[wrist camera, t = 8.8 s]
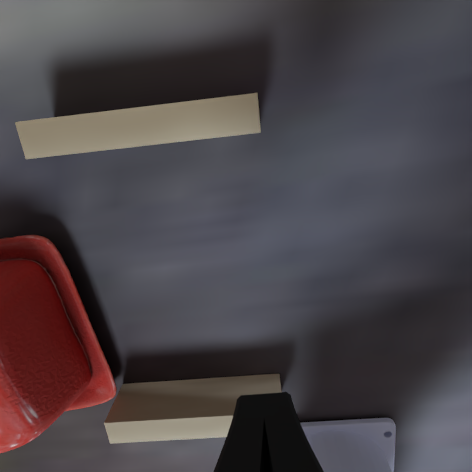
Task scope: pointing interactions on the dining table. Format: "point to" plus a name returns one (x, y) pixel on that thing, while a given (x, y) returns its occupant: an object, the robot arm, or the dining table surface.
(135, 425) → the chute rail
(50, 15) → the dining table surface
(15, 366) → the butter dish
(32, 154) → the bar
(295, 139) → the dining table surface
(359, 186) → the dining table surface
